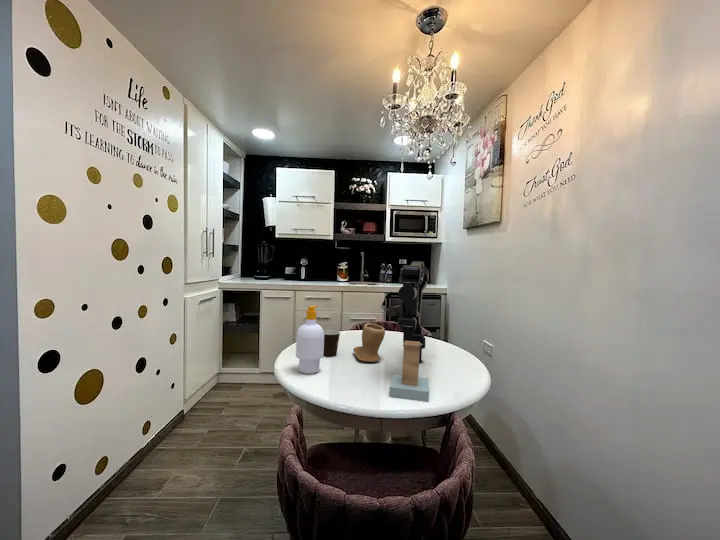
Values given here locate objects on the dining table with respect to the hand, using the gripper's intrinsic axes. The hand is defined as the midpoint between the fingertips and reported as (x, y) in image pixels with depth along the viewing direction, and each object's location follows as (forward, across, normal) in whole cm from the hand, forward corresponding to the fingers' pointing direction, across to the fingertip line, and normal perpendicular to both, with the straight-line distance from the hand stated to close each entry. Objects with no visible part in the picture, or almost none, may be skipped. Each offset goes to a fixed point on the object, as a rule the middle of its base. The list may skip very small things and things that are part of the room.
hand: (408, 340), depth 121 cm
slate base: (+13, +15, +3) cm, 20 cm away
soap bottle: (+13, +9, -35) cm, 39 cm away
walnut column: (+10, +14, +3) cm, 18 cm away
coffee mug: (+13, -15, -35) cm, 40 cm away
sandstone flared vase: (+13, -15, -18) cm, 27 cm away
